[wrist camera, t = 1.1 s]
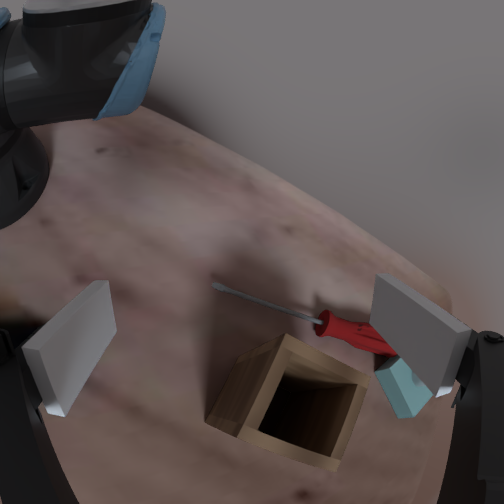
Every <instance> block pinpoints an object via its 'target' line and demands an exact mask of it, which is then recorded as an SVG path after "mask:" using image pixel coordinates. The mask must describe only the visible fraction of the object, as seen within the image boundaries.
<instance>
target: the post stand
mask: <svg viewBox="0 0 504 504" xmlns="http://www.w3.org/2000/svg"><path fill="white" fill-rule="evenodd" d="M375 374H376V376H377V378H378V380H379V382H380V384H381V386H382V388H383V390H384V392H385V393H386V395H387V397H388V399H389V401H390V403H391V405H392V407H393V409H394V411H395V413H396V415H397V417H398V418H411V417H414V416H415V415H416V414H417V413H418V412H419V411H420V410H421V408H422V407H423V406H424V405H425V404H426V402H427V401H428V400H429V399H430V398H431V396H432V395H433V393H432V392H431V391H430V390H429V389H428V388H427V387H426V385H425V384H424V383H423V382H422V381H421V380H420V379H419V378H418V376H417V375H416V374H415V373H414V372H413V371H412V370H411V369H410V367H409V366H408V365H407V364H406V363H405V362H404V361H403V360H402V358H401V357H400V356H399V355H396V356H395V357H392V358H389V359H388V360H387V361H386V362H385V363H384V364H383V365H381V366H380V367H379V368H378V369H377V370H376V371H375Z"/></svg>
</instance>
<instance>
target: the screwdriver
mask: <svg viewBox="0 0 504 504" xmlns="http://www.w3.org/2000/svg"><path fill="white" fill-rule="evenodd" d="M212 287H213V288H215V289H217V290H219V291H221V292H227V293H230V294H233V295H236V296H238V297H241V298H244V299H247V300H249V301H252V302H255V303H258V304H261V305H264V306H267V307H269V308H272V309H275V310H278V311H281V312H284V313H287V314H290V315H293V316H296V317H299V318H302V319H305V320H308V321H311V322H314V323H316V327H315V333H316V335H317V336H319V337H324V336H331V337H335V338H338V339H342V340H344V341H346V342H348V343H349V344H351V345H352V346H354V347H355V348H358V349H362V350H366V351H369V352H373V353H377V354H380V355H384V356H386V357H389V358H392V357H395V356H396V355H398V354H397V353H396V352H395V351H394V350H393V349H392V347H391V346H390V345H389V344H388V343H387V342H386V341H385V340H384V339H383V338H382V337H381V335H380V334H379V333H378V332H377V331H376V330H375V329H374V328H373V327H372V326H371V325H370V324H369V323H362V322H350V321H347V320H344V319H341V318H338V317H336V316H334V315H333V314H332V312H331V311H329V310H324V311H323V312H322V313H321V314H320V316H319V317H318V319H316V318H313V317H310V316H307V315H304V314H301V313H298V312H295V311H292V310H289V309H287V308H284V307H281V306H278V305H275V304H272V303H269V302H266V301H264V300H261V299H258V298H255V297H252V296H250V295H247V294H244V293H241V292H239V291H236V290H233V289H231V288H228V287H226V286H225V285H224V284H219V283H215V282H213V284H212Z"/></svg>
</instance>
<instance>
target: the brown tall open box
mask: <svg viewBox="0 0 504 504" xmlns="http://www.w3.org/2000/svg"><path fill="white" fill-rule="evenodd" d="M370 378H371V377H370V376H368V375H366V374H364V373H362V372H360V371H358V370H356V369H354V368H352V367H350V366H348V365H346V364H344V363H342V362H340V361H338V360H336V359H334V358H332V357H330V356H328V355H326V354H324V353H322V352H320V351H319V350H317V349H315V348H313V347H311V346H309V345H307V344H305V343H304V342H302V341H300V340H298V339H296V338H294V337H292V336H291V335H289V334H287V333H285V334H283V335H281V336H279V337H277V338H275V339H273V340H271V341H269V342H267V343H265V344H263V345H261V346H259V347H257V348H255V349H253V350H251V351H249V352H247V353H245V354H243V355H240V356H239V357H238V359H237V361H236V363H235V365H234V367H233V369H232V371H231V373H230V375H229V377H228V379H227V381H226V383H225V384H224V386H223V388H222V390H221V392H220V394H219V396H218V398H217V400H216V402H215V404H214V406H213V408H212V409H211V411H210V413H209V415H208V417H207V419H206V421H205V423H207V424H209V425H211V426H213V427H215V428H217V429H219V430H221V431H223V432H225V433H227V434H229V435H232V436H234V437H236V438H238V439H241V440H243V441H245V442H248V443H250V444H253V445H255V446H258V447H260V448H263V449H265V450H268V451H271V452H273V453H276V454H279V455H282V456H284V457H287V458H290V459H293V460H296V461H299V462H302V463H305V464H308V465H312V466H315V467H318V468H322V469H325V470H329V471H332V472H336V470H337V468H338V466H339V463H340V461H341V458H342V456H343V454H344V451H345V449H346V446H347V444H348V441H349V439H350V436H351V434H352V431H353V428H354V426H355V423H356V420H357V417H358V414H359V412H360V409H361V406H362V403H363V400H364V397H365V394H366V391H367V388H368V384H369V381H370ZM278 386H279V387H281V388H283V389H285V390H287V391H289V392H291V393H290V396H289V398H288V400H287V403H286V405H285V407H284V409H283V412H282V414H281V416H280V418H279V420H278V423H277V425H276V427H275V429H274V431H273V433H272V435H271V436H269V435H267V434H264V433H262V432H260V431H257V430H258V427H259V425H260V423H261V421H262V419H263V417H264V415H265V413H266V411H267V409H268V406H269V404H270V402H271V400H272V398H273V396H274V393H275V391H276V389H277V387H278Z"/></svg>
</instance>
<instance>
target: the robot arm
mask: <svg viewBox="0 0 504 504" xmlns="http://www.w3.org/2000/svg"><path fill="white" fill-rule="evenodd" d="M151 1H152V0H27V1H26V2H25V3H24V5H23V18H22V19H18V20H14V21H10V18H11V13H10V12H9V10H8V9H7V8H5V7H2V8H0V229H2V228H5V227H7V226H9V225H11V224H12V223H14V222H16V221H17V220H18V219H20V218H21V217H22V216H23V215H25V214H26V213H27V212H28V211H29V210H30V209H31V208H32V206H33V205H34V204H35V203H36V201H37V200H38V199H39V197H40V196H41V194H42V192H43V190H44V188H45V185H46V183H47V179H48V175H49V164H48V160H47V156H46V152H45V149H44V147H43V145H42V143H41V142H40V140H39V139H38V138H37V137H36V135H35V134H34V133H33V131H32V130H31V129H30V128H29V127H32V126H38V125H44V124H51V123H58V122H65V121H73V120H82V119H92V120H94V121H97V120H99V119H101V118H105V117H113V116H123V115H127V114H130V113H132V112H133V111H134V110H136V109H137V108H138V106H139V105H140V104H141V103H142V100H143V99H144V96H145V94H146V91H147V88H148V86H149V82H150V79H151V76H152V72H153V69H154V65H155V62H156V58H157V54H158V49H159V41H160V39H161V34H162V31H163V28H164V23H165V16H166V11H165V8H164V6H163V5H159V4H158V3H151ZM369 324H370V325H371V326H372V327H373V328H374V329H375V330H376V331H377V332H378V333H379V334H380V335H381V337H382V338H383V339H384V340H385V341H386V342H387V343H388V344H389V345H390V346H391V347H392V349H393V350H394V351H395V352H396V353H397V354H398V355H399V356H400V357H401V358H402V360H403V361H404V362H405V363H406V364H407V365H408V366H409V367H410V369H411V370H412V371H413V372H414V373H415V374H416V375H417V376H418V378H419V379H420V380H421V381H422V382H423V383H424V384H425V385H426V387H427V388H428V389H429V390H430V391H431V392H432V393H433V395H434V396H435V397H438V396H441V395H444V394H447V393H450V392H451V389H452V387H453V384H454V382H455V379H456V380H457V381H458V382H459V383H460V384H461V385H460V387H459V390H458V392H457V394H456V397H455V399H454V402H453V404H452V406H451V408H454V405H455V404H456V412H455V419H454V427H453V433H452V440H451V445H450V450H449V456H448V461H447V465H446V470H445V474H444V478H443V482H442V486H441V490H440V494H439V498H438V501H437V504H504V337H503V336H502V335H500V334H498V333H496V332H492V331H482V332H480V333H477V332H476V331H474V330H473V329H471V328H470V327H468V326H467V325H466V324H464V323H462V322H461V321H460V320H458V319H456V318H455V317H454V316H453V315H451V314H450V313H448V312H446V311H445V310H444V309H442V308H441V307H439V306H438V305H436V304H435V303H433V302H432V301H430V300H429V299H427V298H426V297H424V296H423V295H421V294H420V293H418V292H417V291H415V290H414V289H412V288H411V287H409V286H408V285H406V284H405V283H403V282H402V281H400V280H398V279H397V278H395V277H394V276H392V275H391V274H389V273H383V274H376V277H375V286H374V294H373V301H372V308H371V315H370V321H369ZM116 332H117V329H116V324H115V318H114V313H113V307H112V301H111V295H110V288H109V281H108V280H95V281H93V282H92V283H91V284H90V285H89V286H88V287H86V288H85V289H84V290H83V291H82V292H81V293H79V294H78V295H77V296H76V297H75V298H74V299H73V300H72V301H70V302H69V303H68V304H67V305H66V306H65V307H64V308H63V309H61V310H60V311H59V312H58V313H57V314H56V315H55V316H54V317H53V318H52V319H51V320H49V321H48V322H47V323H46V324H44V325H42V326H40V327H38V328H37V329H36V330H35V331H34V332H33V333H32V334H31V335H30V336H29V337H28V338H27V339H26V340H25V341H24V342H22V343H21V344H20V345H19V346H18V347H17V348H16V349H15V350H14V347H13V344H12V341H11V338H10V335H9V333H8V331H7V330H4V329H0V496H1V500H2V504H79V502H78V500H77V498H76V497H75V495H74V493H73V491H72V489H71V487H70V485H69V483H68V480H67V478H66V476H65V474H64V472H63V470H62V467H61V465H60V463H59V461H58V458H57V456H56V453H55V451H54V448H53V446H52V443H51V441H50V438H49V435H48V433H47V430H46V427H45V424H44V421H43V418H42V415H41V413H40V411H39V409H38V406H39V405H40V403H41V402H42V401H43V403H44V405H45V408H46V410H47V412H48V413H49V414H54V415H58V416H62V417H66V415H67V413H68V411H69V409H70V408H71V406H72V404H73V402H74V401H75V399H76V397H77V396H78V394H79V392H80V390H81V389H82V387H83V385H84V384H85V382H86V380H87V379H88V377H89V375H90V374H91V372H92V370H93V369H94V367H95V365H96V364H97V362H98V361H99V359H100V357H101V356H102V354H103V353H104V351H105V349H106V348H107V346H108V345H109V343H110V342H111V340H112V338H113V337H114V335H115V334H116Z"/></svg>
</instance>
